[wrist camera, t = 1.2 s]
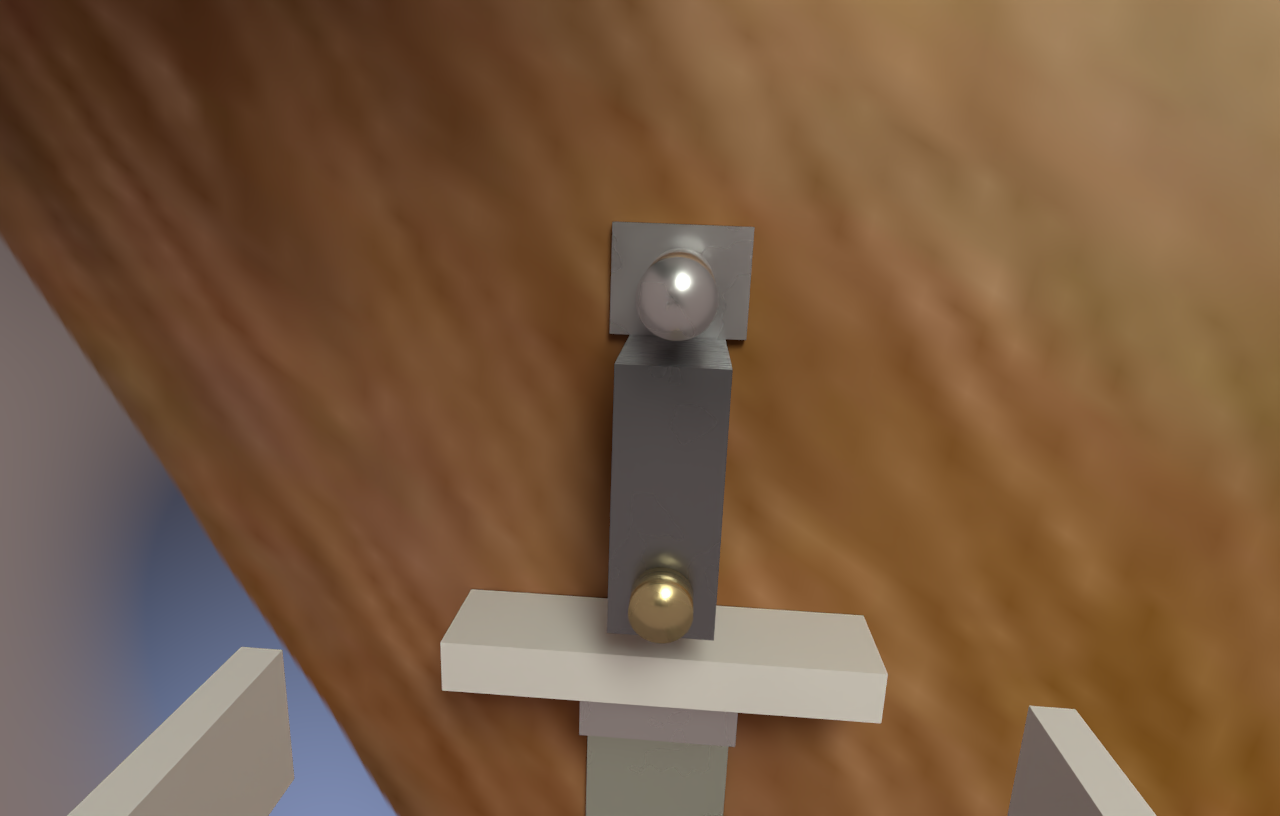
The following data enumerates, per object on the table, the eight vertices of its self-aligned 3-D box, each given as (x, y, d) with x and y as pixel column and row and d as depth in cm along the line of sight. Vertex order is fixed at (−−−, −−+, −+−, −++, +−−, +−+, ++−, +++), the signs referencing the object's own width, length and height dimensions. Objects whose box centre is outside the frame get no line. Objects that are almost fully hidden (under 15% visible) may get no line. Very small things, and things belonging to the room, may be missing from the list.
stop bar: (630, 332, 28) (609, 372, 21) (724, 336, 28) (734, 378, 21) (623, 553, 31) (602, 653, 24) (710, 558, 31) (714, 661, 24)
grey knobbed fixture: (613, 221, 27) (592, 224, 22) (753, 226, 27) (769, 231, 21) (610, 332, 28) (589, 363, 23) (745, 338, 28) (758, 371, 22)
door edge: (471, 589, 31) (440, 642, 28) (863, 615, 31) (887, 674, 27) (472, 632, 32) (442, 690, 28) (857, 659, 31) (881, 723, 27)
